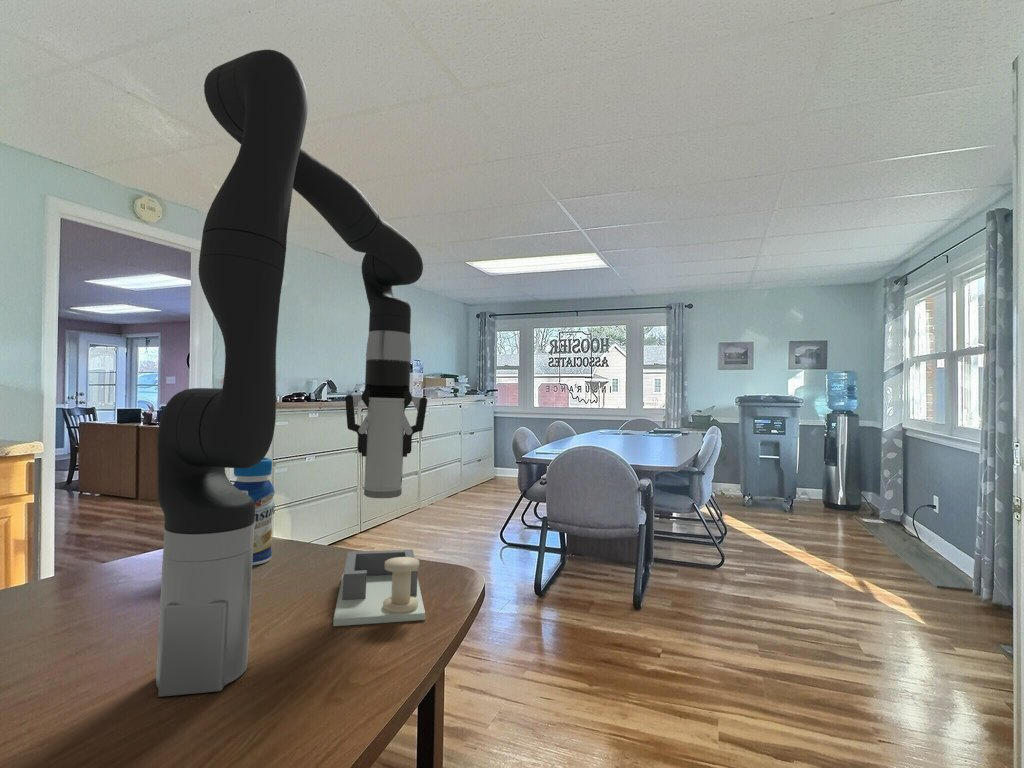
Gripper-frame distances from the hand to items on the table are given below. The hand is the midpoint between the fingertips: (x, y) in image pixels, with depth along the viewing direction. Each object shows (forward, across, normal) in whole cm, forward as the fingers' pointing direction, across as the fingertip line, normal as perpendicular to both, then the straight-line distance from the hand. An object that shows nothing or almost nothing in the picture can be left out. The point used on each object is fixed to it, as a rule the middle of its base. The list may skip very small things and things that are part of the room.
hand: (384, 455), depth 91 cm
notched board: (+23, 0, -3) cm, 23 cm away
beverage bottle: (+23, -25, +21) cm, 40 cm away
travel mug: (+7, 0, 0) cm, 7 cm away
